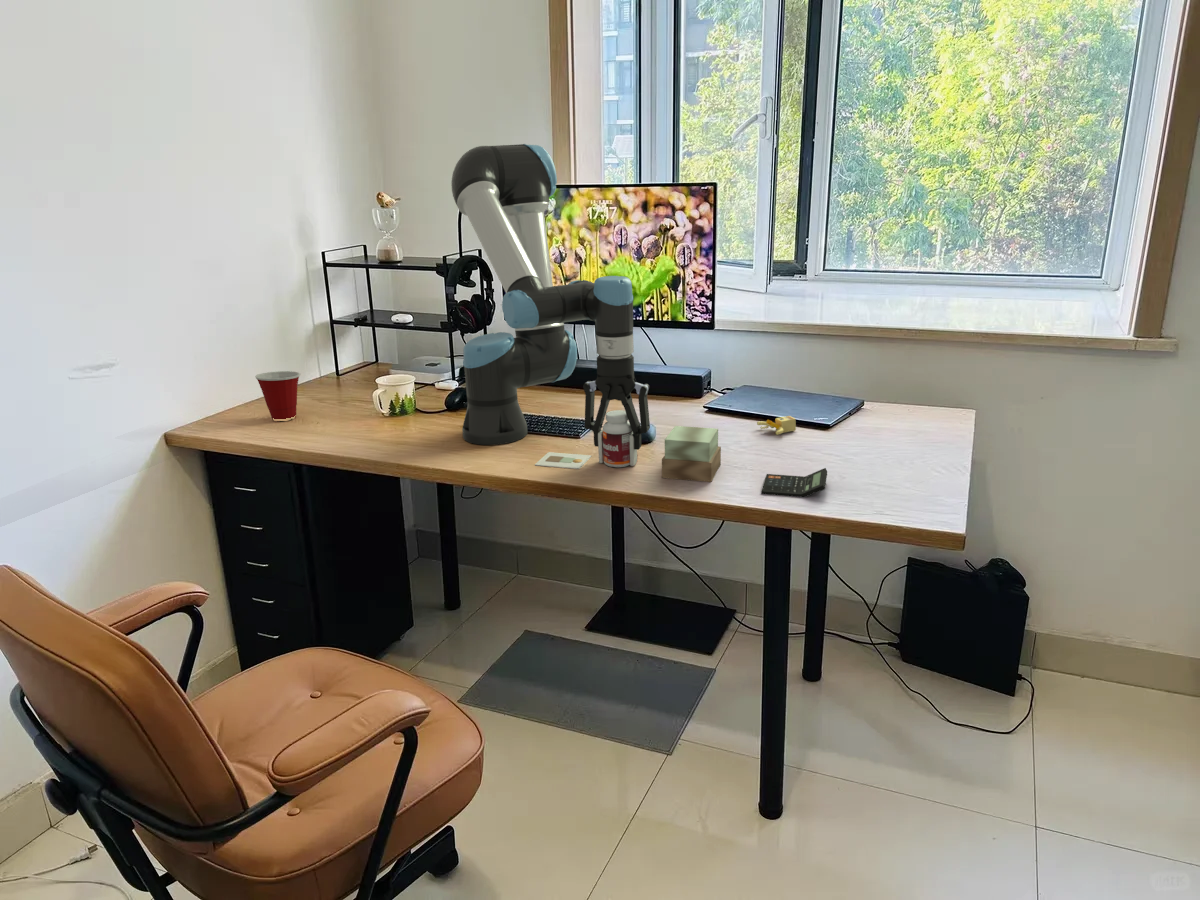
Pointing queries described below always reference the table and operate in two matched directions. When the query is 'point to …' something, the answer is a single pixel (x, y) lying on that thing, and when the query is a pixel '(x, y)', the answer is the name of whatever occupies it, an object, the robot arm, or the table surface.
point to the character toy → (780, 424)
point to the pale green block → (691, 454)
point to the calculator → (794, 484)
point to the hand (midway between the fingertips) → (618, 461)
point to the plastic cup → (280, 392)
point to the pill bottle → (616, 439)
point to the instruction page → (563, 460)
